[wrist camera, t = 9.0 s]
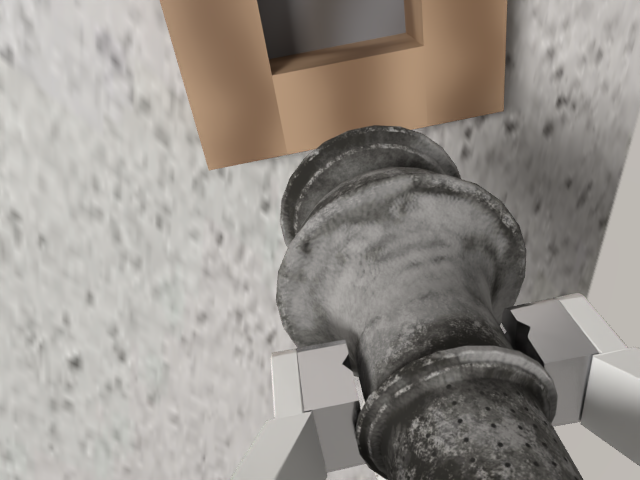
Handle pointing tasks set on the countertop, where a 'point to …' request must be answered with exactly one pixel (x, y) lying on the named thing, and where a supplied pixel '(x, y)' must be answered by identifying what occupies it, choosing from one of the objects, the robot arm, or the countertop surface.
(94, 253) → the countertop surface
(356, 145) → the grey tall rounded piece
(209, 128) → the holder
